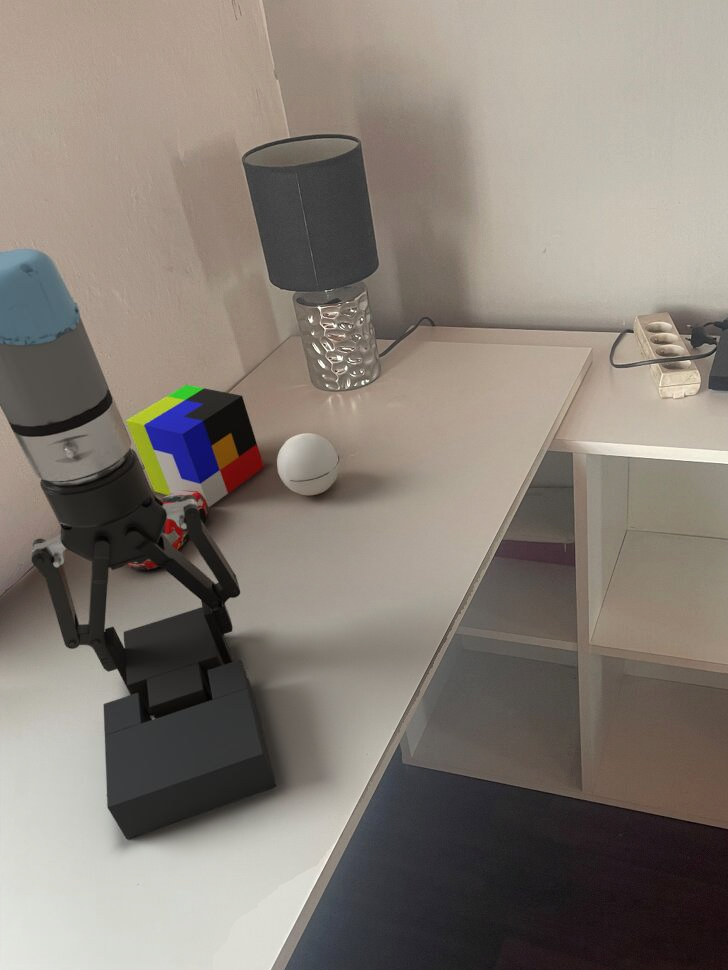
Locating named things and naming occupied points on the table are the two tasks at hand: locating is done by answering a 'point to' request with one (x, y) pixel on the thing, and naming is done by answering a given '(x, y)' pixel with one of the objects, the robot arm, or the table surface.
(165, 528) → the race car
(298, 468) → the white sphere
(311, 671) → the table surface
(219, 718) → the notch pad
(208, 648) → the tongue pad
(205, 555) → the robot arm
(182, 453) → the puzzle toy
